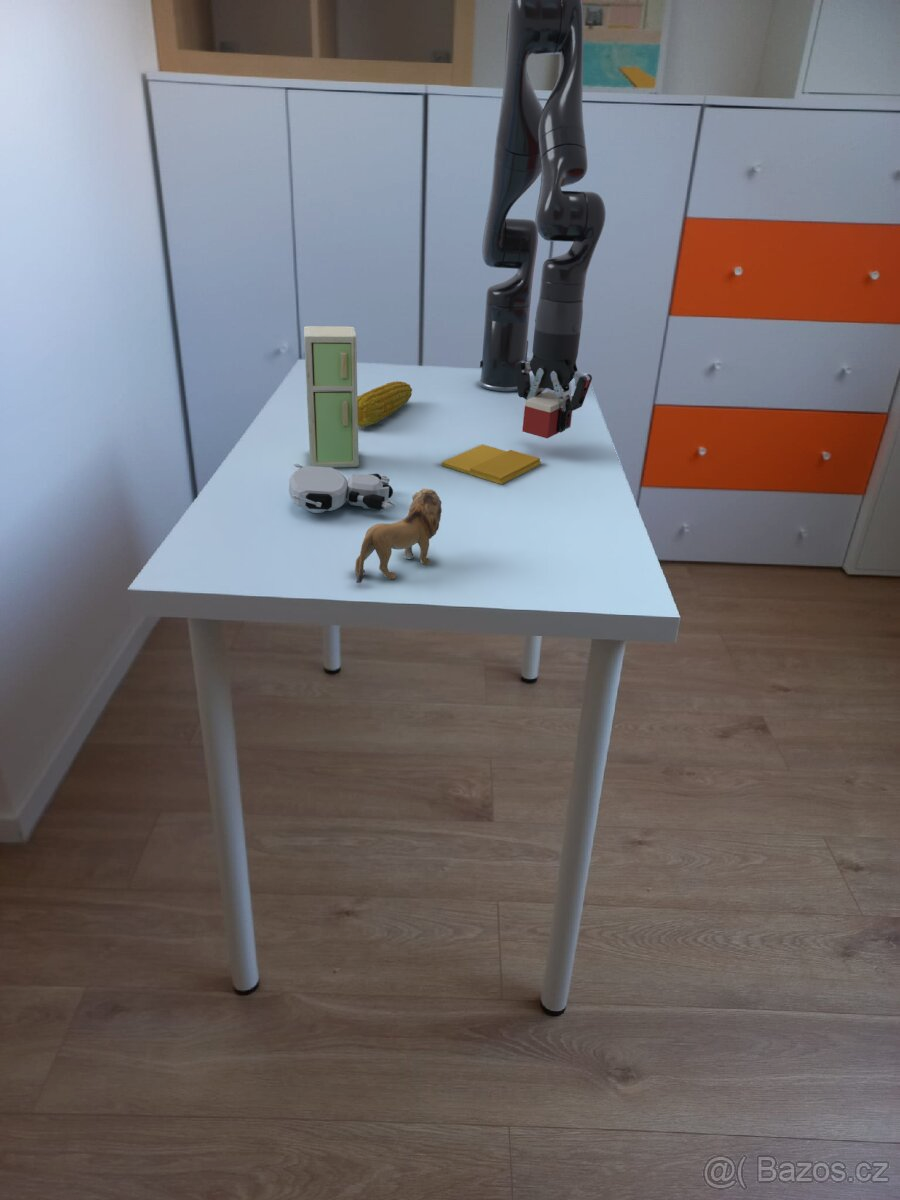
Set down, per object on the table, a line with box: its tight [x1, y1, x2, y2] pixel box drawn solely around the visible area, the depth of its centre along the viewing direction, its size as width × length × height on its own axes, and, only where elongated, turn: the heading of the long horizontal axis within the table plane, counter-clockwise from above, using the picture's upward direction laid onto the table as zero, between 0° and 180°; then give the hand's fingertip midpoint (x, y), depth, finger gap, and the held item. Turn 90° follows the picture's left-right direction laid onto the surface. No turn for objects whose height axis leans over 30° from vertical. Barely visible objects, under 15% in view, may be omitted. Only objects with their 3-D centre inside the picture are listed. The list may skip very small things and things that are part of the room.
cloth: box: [441, 444, 542, 485], centre depth 138 cm, size 12×12×1 cm
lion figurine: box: [354, 488, 443, 584], centre depth 104 cm, size 15×5×9 cm, turn 142°
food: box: [357, 380, 413, 428], centre depth 157 cm, size 21×6×6 cm, turn 159°
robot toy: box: [288, 463, 395, 514], centre depth 121 cm, size 12×4×15 cm
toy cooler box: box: [522, 390, 573, 439], centre depth 143 cm, size 8×5×6 cm, turn 144°
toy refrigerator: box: [303, 325, 360, 468], centre depth 131 cm, size 8×7×21 cm
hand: (546, 426), depth 144 cm, fingers closed on toy cooler box, 5 cm apart
